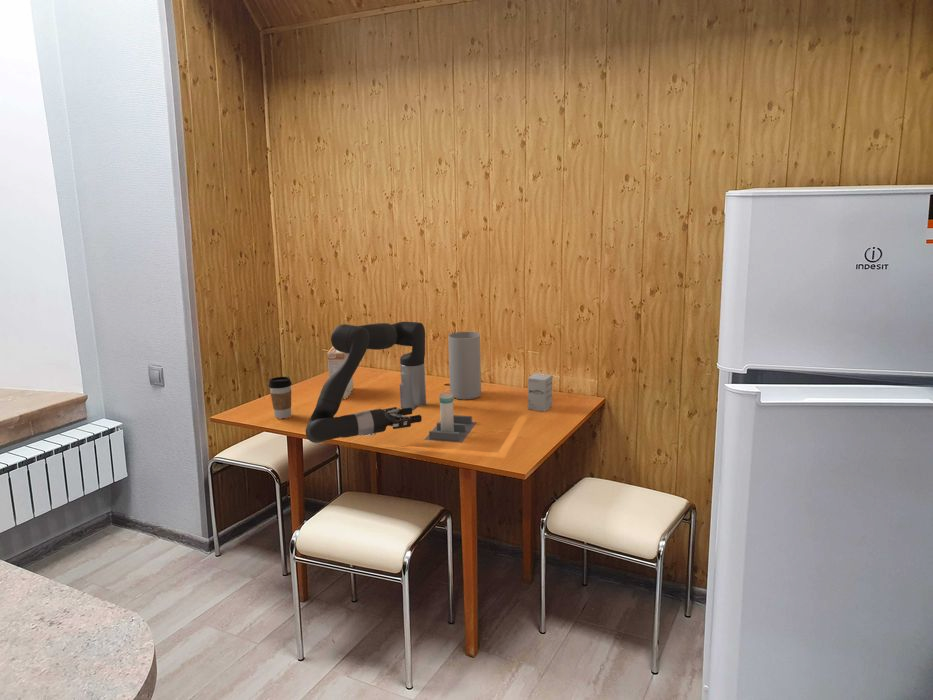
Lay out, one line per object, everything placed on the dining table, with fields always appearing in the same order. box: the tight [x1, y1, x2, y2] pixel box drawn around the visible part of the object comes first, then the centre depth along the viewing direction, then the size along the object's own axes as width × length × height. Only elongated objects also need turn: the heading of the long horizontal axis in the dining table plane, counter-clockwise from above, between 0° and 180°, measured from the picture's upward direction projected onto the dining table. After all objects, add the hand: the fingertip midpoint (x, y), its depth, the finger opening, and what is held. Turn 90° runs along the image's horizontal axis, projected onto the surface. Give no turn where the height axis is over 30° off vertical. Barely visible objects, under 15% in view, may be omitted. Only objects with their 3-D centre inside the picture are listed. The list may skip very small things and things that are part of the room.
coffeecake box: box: [326, 346, 354, 399], centre depth 298 cm, size 15×7×20 cm, turn 178°
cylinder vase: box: [447, 331, 482, 401], centre depth 290 cm, size 12×12×25 cm
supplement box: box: [527, 372, 553, 413], centre depth 274 cm, size 7×7×13 cm
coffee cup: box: [268, 376, 292, 419], centre depth 272 cm, size 8×8×15 cm
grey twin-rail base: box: [423, 414, 478, 443], centre depth 250 cm, size 13×20×4 cm, turn 165°
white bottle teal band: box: [438, 392, 454, 432], centre depth 244 cm, size 5×5×14 cm
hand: (416, 414), depth 239 cm, fingers open, 8 cm apart
